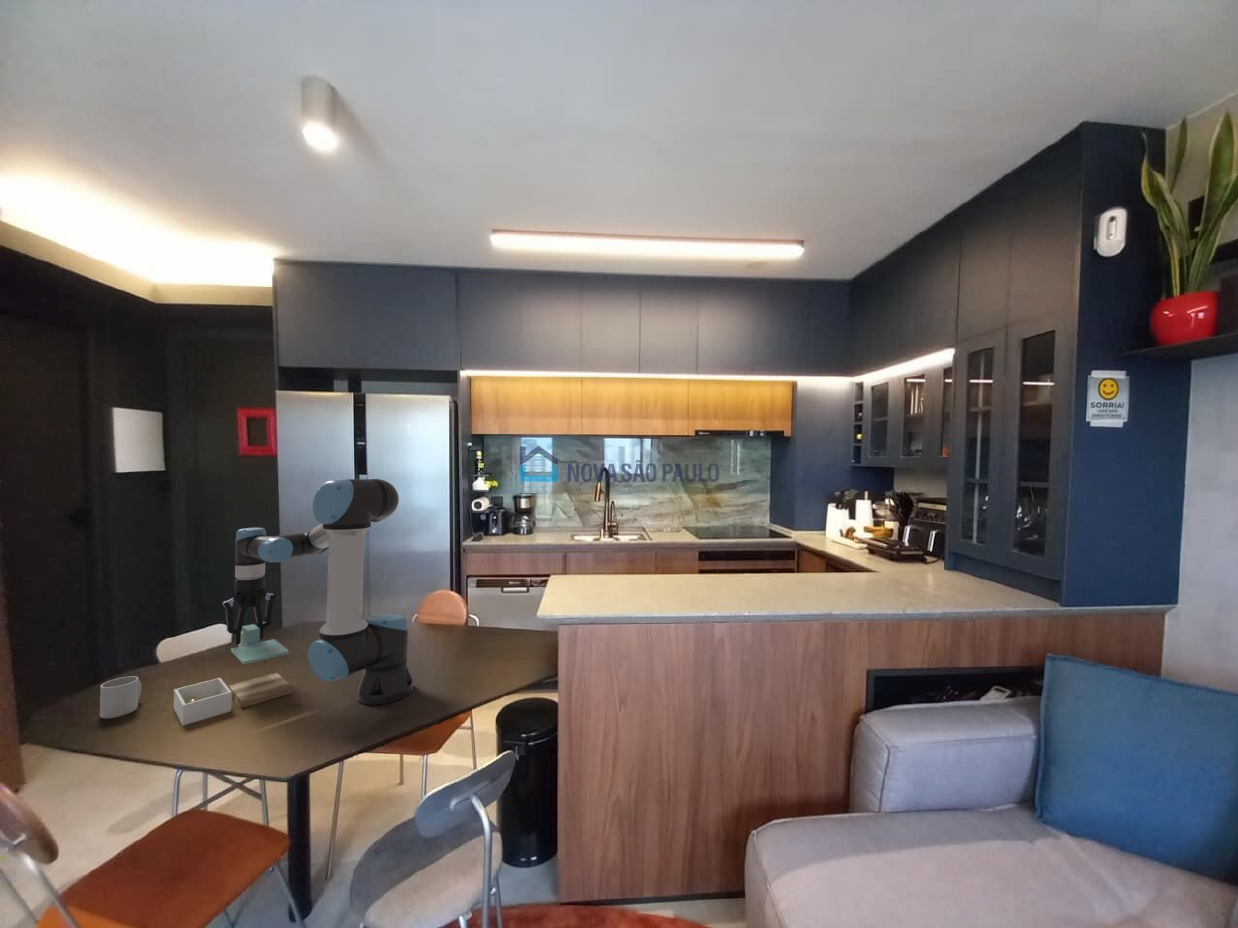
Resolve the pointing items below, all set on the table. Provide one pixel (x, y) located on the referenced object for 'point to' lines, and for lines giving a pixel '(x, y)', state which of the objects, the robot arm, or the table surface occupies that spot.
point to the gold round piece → (193, 699)
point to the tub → (202, 701)
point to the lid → (257, 647)
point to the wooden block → (259, 689)
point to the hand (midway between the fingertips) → (248, 651)
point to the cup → (119, 696)
